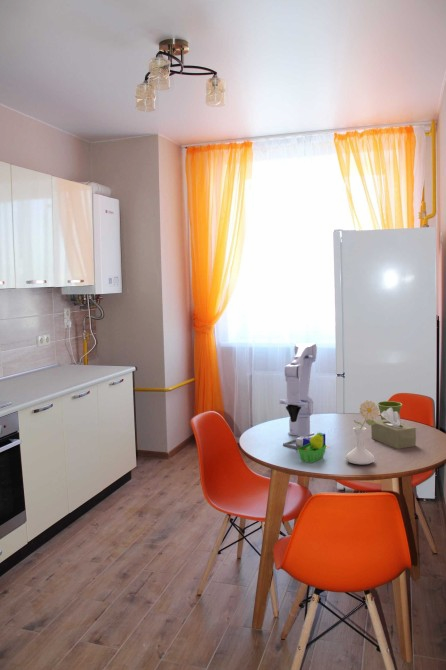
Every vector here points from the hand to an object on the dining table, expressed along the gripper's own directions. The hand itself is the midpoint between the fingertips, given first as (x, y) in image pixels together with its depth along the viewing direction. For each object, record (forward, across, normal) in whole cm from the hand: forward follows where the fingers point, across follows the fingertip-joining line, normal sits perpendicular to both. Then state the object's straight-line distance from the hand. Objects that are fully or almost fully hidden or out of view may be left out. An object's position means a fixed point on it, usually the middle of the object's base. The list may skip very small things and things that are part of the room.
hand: (293, 421), depth 245 cm
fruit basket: (+10, +20, -13) cm, 26 cm away
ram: (+10, +7, -2) cm, 12 cm away
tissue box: (+10, +32, +29) cm, 45 cm away
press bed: (+10, +7, -2) cm, 12 cm away
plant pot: (+10, +18, +53) cm, 57 cm away
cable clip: (+10, +12, -3) cm, 16 cm away
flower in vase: (+10, +37, -4) cm, 39 cm away
